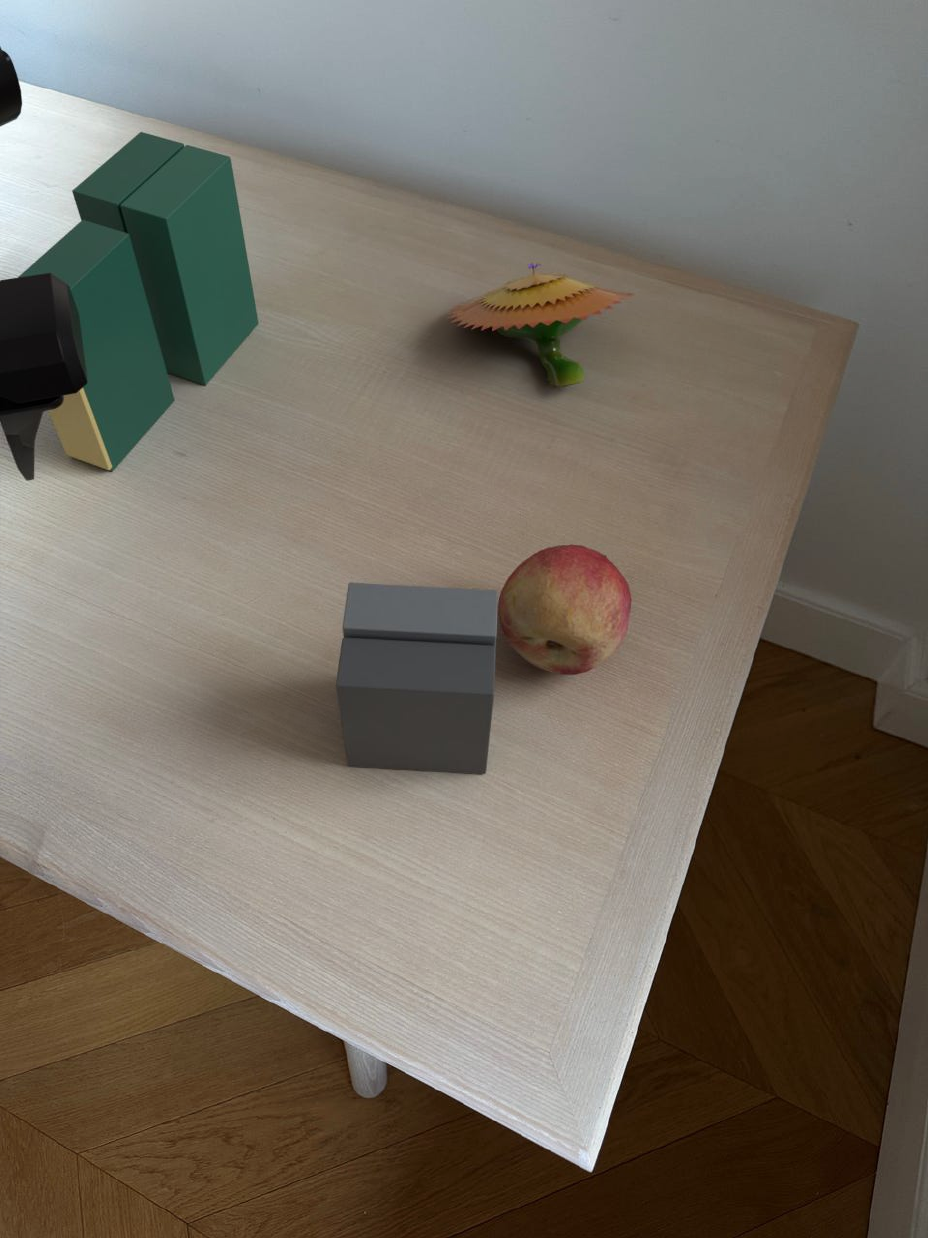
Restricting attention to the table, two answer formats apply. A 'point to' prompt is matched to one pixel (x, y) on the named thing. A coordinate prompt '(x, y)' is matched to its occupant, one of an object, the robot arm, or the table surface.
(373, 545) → the table surface
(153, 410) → the green book
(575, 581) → the fruit
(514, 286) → the flower
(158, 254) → the green grooved box
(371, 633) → the grey grooved block
